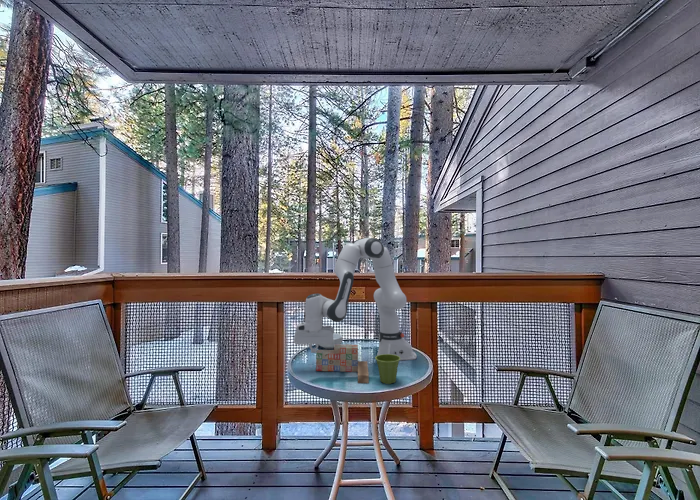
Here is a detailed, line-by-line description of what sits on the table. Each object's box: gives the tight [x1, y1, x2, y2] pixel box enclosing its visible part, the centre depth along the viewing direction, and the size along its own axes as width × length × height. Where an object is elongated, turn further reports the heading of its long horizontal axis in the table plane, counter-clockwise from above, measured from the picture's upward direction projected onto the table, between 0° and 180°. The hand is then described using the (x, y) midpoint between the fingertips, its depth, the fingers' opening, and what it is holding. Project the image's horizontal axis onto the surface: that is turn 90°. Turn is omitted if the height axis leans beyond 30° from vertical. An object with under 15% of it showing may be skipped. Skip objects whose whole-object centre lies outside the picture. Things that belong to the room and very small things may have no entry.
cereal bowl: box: [319, 332, 343, 350], centre depth 224 cm, size 17×17×7 cm
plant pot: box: [374, 354, 401, 385], centre depth 168 cm, size 12×12×11 cm
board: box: [357, 360, 370, 384], centre depth 176 cm, size 5×20×4 cm, turn 179°
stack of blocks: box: [315, 343, 359, 373], centre depth 183 cm, size 21×6×12 cm, turn 89°
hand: (313, 352), depth 183 cm, fingers closed
